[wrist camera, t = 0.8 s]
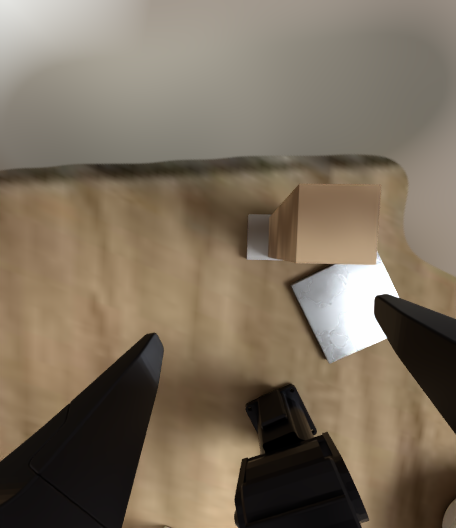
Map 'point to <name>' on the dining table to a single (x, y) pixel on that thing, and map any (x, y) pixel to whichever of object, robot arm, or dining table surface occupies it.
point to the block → (319, 226)
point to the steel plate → (343, 306)
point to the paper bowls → (450, 516)
